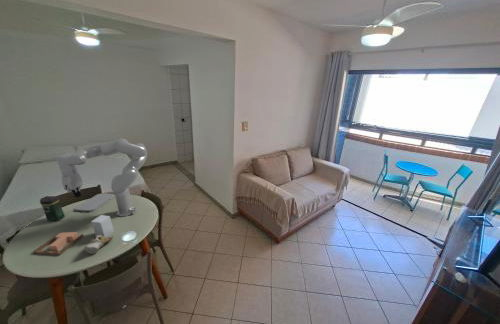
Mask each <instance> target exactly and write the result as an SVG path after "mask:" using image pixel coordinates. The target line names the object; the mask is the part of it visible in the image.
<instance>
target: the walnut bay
mask: <svg viewBox="0 0 500 324" xmlns="http://www.w3.org/2000/svg"><path fill="white" fill-rule="evenodd" d="M57 235H58V234H56V235H55V236H54V237H52V238H50V239H49V240H47V241H46V242H45V243H43V244H41V245H40V246H39V247H38V248H36V249H35V250H32V253H33V254H37V255H48V256H49V255H52V256H61V255H62V254H64V253H65V252H66V251H67V250H69V249H70V248H71V247H72V246H74V245H75V244H76V243H77V242H78V241H80V240H81V239H83V238H84V236H85V234H83V233H82V234H80V235H78V237H77V238H76V239H75V240H74V241H70V242H69V243H67V244H66V245H65V246H64V247H62V248H61V249H60V250H59V251H51V250H43V249H45V247H47V246H50V245H51V244H52V243H53V242H55V241H56V238H55V237H56V236H57Z"/></svg>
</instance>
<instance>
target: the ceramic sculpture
mask: <svg viewBox="0 0 500 324" xmlns="http://www.w3.org/2000/svg"><path fill="white" fill-rule="evenodd" d="M113 238H114V235H113V236H111V237H110V236H108V237H106V238H105V237H104V236H102V235H98V236H96V235H95V236H94V237H93V238H91V239H90V241H89V243H88V244H87V245H86V246H84V250H85V252H86V253H87V254H90V255H95V254H97V253H98V251H99V249H100V248H102V247H103V246H104V245H106V244H108V243H110V242H111V241H112V240H113Z"/></svg>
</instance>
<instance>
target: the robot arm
mask: <svg viewBox="0 0 500 324" xmlns="http://www.w3.org/2000/svg"><path fill="white" fill-rule="evenodd" d="M115 153H116V154H117V153H120V154H123V155H127V156H130V157H132V159H131V160H130V161H129V162H128V163H127V164H126V165H125V166H124V167H123V168H122V172H121V174H118V175H115V176H114V177H113V178H112V180H111V186H110V187H111V190H112V192H114V193H113V194H114V198H115V202H116V205H117V206H116V207H117V209H118V211H117V212H116V215H117V216H118V217H128V216H130V215H132V214H133V213H136V212H137V211H138V210H137V209H138V208H137V207H135V206H134V205H133V203H132V202H133V201H132V198H131V194H130V186H132V184H133V183H134V182H135V181H136V179H137V178H138V172H139V170H140V169H141V168H142V167H143V165H144V164H145V163H146V161H147V158H148V150H147V147H146V146H145V144H143V143H141V142H140V143H139V142H137V143H136V144H133V143H130V142H129V140H127V139H125V138H123V137H122V138H120V137H119V138H117V139H115V140H111V141H108V142H105V143H101V144H98V145H92V146H88V147H85V148H83V149H79V150H77V151H76V152H75V153H73V154H70V153H63V154H58V155H57V156H56V157H55V159H56V162H57V165H58V167H59V170H60V173H61V182H62V187H63V189H64V191H66V192H67V193H73V195H74V197H75V198H81V196H82V194H81V188H82V186H83V184H84V183H83V179H82V177H81V175H80V173H79V172H78V168H77V167H76V166H80V165H82V166H83V165H85V164H86V163H87V161H88V160H89V159H91V158H95V157H98V156H102V157H103V156H104V157H106V156H110V155H113V154H115Z"/></svg>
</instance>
